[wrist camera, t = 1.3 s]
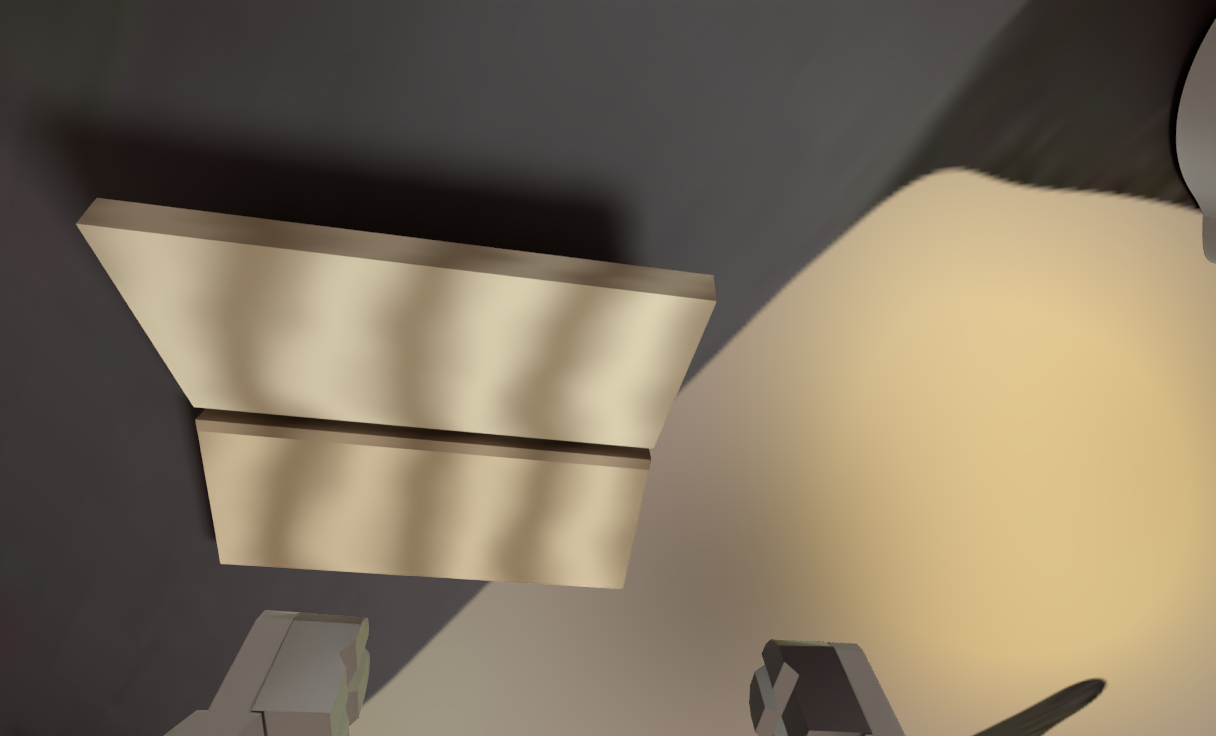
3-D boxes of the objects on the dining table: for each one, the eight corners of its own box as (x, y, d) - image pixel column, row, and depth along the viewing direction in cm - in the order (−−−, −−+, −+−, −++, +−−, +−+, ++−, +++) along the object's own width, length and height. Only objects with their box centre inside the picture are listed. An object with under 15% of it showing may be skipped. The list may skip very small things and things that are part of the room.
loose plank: (713, 275, 27) (716, 301, 26) (652, 425, 36) (653, 448, 35) (96, 197, 24) (75, 223, 23) (205, 383, 33) (193, 407, 32)
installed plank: (647, 443, 37) (651, 459, 35) (620, 570, 41) (622, 589, 40) (210, 403, 34) (195, 419, 33) (233, 544, 38) (220, 563, 37)
